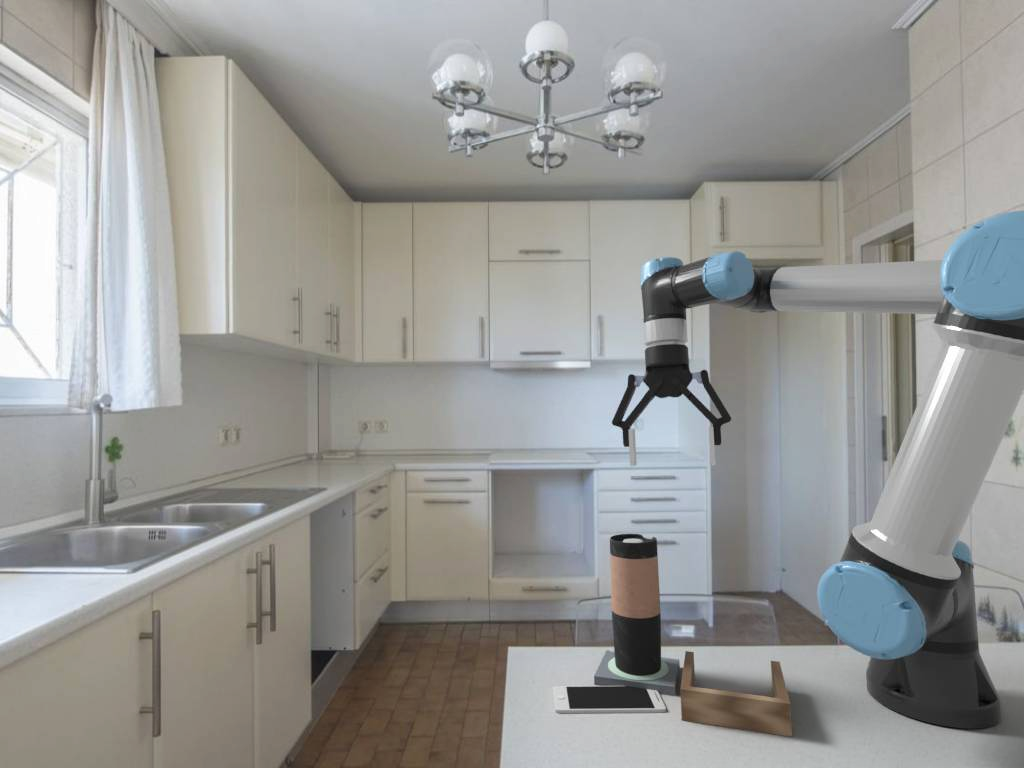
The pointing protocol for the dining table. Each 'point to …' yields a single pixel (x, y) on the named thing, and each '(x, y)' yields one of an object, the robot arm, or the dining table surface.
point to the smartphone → (606, 699)
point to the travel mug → (635, 604)
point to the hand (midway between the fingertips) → (672, 465)
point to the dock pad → (659, 681)
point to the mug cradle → (736, 704)
